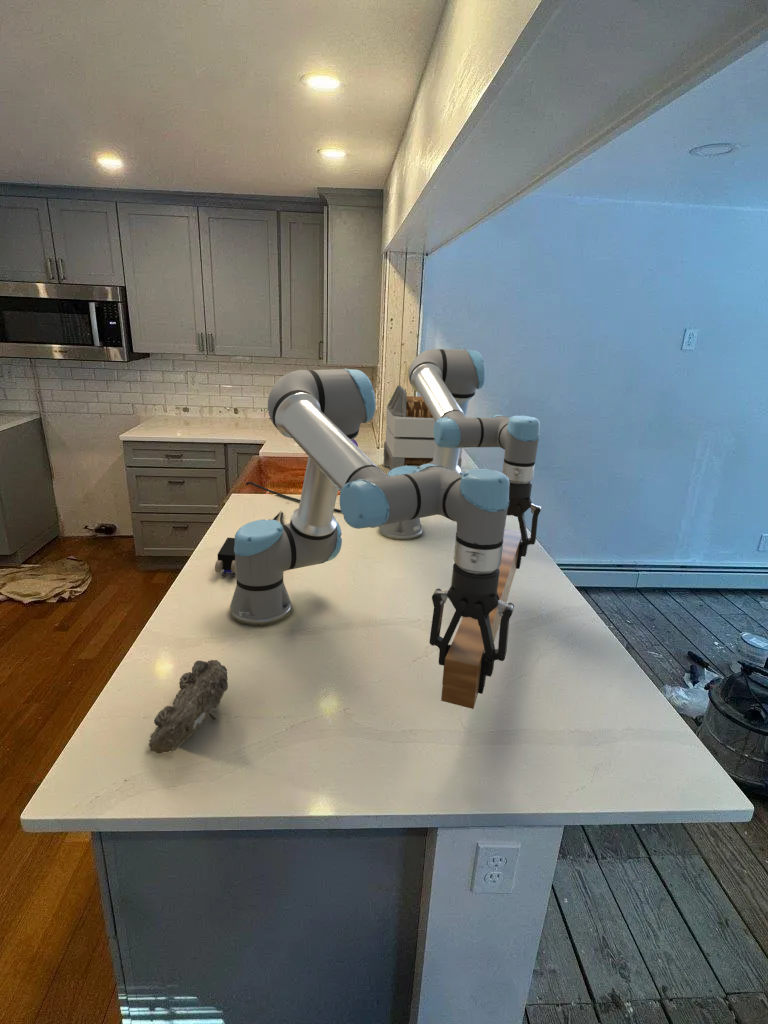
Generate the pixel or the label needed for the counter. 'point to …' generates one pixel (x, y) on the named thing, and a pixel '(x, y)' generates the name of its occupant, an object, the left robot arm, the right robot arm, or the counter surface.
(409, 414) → the grey wooden crate
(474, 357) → the right robot arm
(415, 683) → the counter surface
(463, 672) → the post
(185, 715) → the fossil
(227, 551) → the black toy vehicle
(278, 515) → the feather
